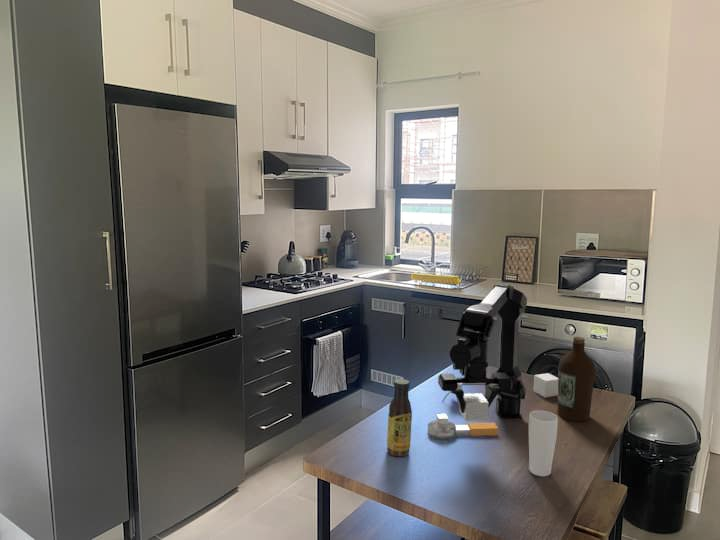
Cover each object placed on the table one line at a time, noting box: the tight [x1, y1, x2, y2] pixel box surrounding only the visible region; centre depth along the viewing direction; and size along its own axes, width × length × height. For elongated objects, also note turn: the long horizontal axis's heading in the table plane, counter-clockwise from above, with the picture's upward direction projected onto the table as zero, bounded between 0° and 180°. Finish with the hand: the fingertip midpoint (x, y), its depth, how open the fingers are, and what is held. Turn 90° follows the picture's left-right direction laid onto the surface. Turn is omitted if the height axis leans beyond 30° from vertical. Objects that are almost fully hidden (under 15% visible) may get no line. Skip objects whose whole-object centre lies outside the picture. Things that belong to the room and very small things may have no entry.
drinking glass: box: [528, 409, 559, 478], centre depth 133 cm, size 7×7×15 cm
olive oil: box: [556, 336, 596, 422], centre depth 165 cm, size 11×11×25 cm
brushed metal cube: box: [459, 393, 489, 422], centre depth 143 cm, size 6×6×5 cm
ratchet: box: [427, 413, 499, 441], centre depth 154 cm, size 20×8×5 cm, turn 94°
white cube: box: [532, 372, 558, 398], centre depth 184 cm, size 6×6×6 cm
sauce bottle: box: [386, 378, 413, 457], centre depth 142 cm, size 6×6×20 cm
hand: (473, 412), depth 143 cm, fingers closed on brushed metal cube, 6 cm apart
